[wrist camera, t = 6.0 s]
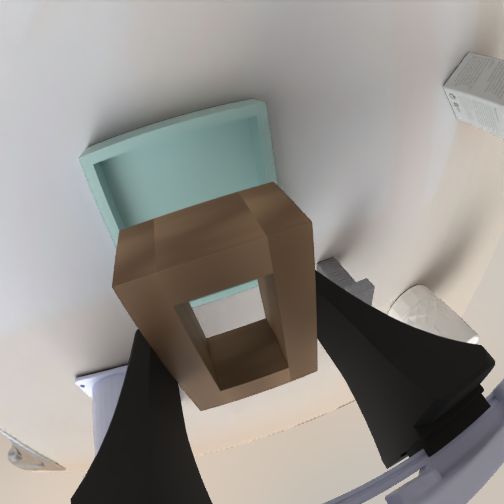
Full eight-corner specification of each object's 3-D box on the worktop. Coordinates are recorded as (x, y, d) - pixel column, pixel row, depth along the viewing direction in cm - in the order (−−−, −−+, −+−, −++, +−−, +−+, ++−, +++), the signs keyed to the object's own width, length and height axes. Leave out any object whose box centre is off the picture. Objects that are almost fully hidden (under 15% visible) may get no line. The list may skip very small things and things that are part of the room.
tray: (276, 258, 23) (287, 275, 21) (151, 299, 21) (153, 320, 20) (252, 98, 16) (265, 102, 14) (86, 147, 14) (78, 158, 12)
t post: (334, 282, 26) (367, 324, 22) (316, 289, 26) (348, 333, 22) (335, 244, 24) (374, 286, 20) (315, 251, 24) (353, 296, 19)
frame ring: (273, 181, 10) (311, 221, 8) (293, 325, 15) (317, 370, 13) (119, 230, 10) (112, 287, 7) (189, 360, 15) (200, 411, 12)
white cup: (437, 280, 34) (487, 331, 26) (406, 326, 37) (448, 377, 30) (405, 278, 30) (462, 340, 23) (371, 330, 34) (416, 392, 26)
